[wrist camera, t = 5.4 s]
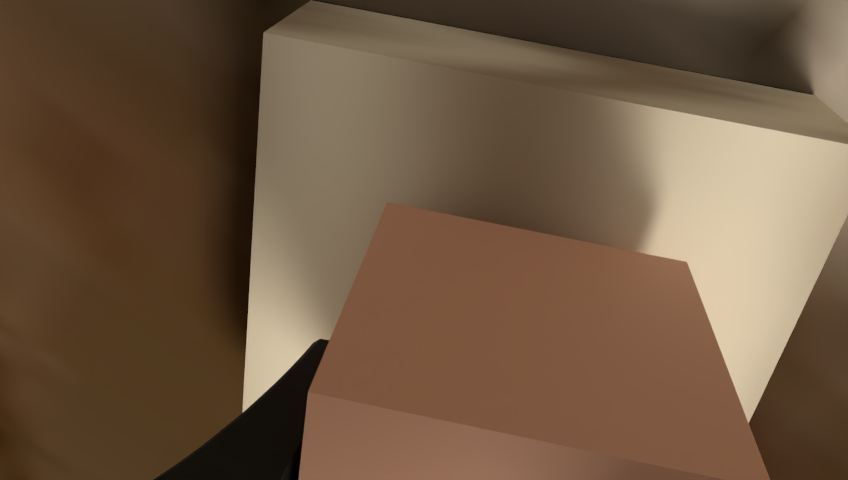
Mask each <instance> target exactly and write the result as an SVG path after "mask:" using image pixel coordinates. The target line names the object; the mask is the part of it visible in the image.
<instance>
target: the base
mask: <svg viewBox="0 0 848 480" xmlns="http://www.w3.org/2000/svg"><path fill="white" fill-rule="evenodd" d="M387 202H389V203H394V204H399V205H404V206H409V207H414V208H419V209H424V210H429V211H434V212H439V213H444V214H449V215H454V216H459V217H464V218H469V219H474V220H479V221H484V222H490V223H495V224H500V225H505V226H510V227H515V228H520V229H525V230H530V231H535V232H540V233H545V234H550V235H555V236H560V237H565V238H570V239H575V240H580V241H585V242H590V243H595V244H600V245H605V246H610V247H615V248H620V249H625V250H630V251H635V252H640V253H645V254H650V255H655V256H660V257H665V258H670V259H675V260H680V261H685V262H687V263H688V266H689V269H690V271H691V274H692V277H693V279H694V282H695V284H696V287H697V290H698V292H699V295H700V298H701V300H702V303H703V305H704V308H705V311H706V313H707V316H708V319H709V321H710V324H711V327H712V329H713V332H714V334H715V337H716V340H717V342H718V345H719V348H720V350H721V353H722V355H723V358H724V361H725V363H726V366H727V369H728V371H729V374H730V376H731V379H732V382H733V384H734V387H735V390H736V392H737V395H738V397H739V400H740V403H741V405H742V408H743V411H744V413H745V416H746V418H747V421H748V423H749V421H750V419H751V417H752V415H753V413H754V411H755V409H756V406H757V404H758V402H759V400H760V398H761V396H762V394H763V392H764V390H765V387H766V385H767V383H768V381H769V379H770V377H771V375H772V373H773V371H774V369H775V366H776V364H777V362H778V360H779V358H780V356H781V354H782V352H783V350H784V347H785V345H786V343H787V341H788V339H789V337H790V335H791V333H792V331H793V329H794V326H795V324H796V322H797V320H798V318H799V316H800V314H801V312H802V310H803V307H804V305H805V303H806V301H807V299H808V297H809V295H810V293H811V291H812V289H813V286H814V284H815V282H816V280H817V278H818V276H819V274H820V272H821V270H822V267H823V265H824V263H825V261H826V259H827V257H828V255H829V253H830V251H831V249H832V246H833V244H834V242H835V240H836V238H837V236H838V234H839V232H840V230H841V227H842V225H843V223H844V221H845V219H846V217H847V215H848V123H847V122H845V121H844V120H843V119H842V118H841V117H840V116H839V115H837V114H836V113H835V112H834V111H833V110H832V109H830V108H829V107H828V106H827V105H826V104H825V103H824V102H822V101H821V100H820V99H819V98H818V97H817V96H815V95H810V94H805V93H800V92H794V91H789V90H784V89H778V88H773V87H768V86H762V85H757V84H752V83H747V82H741V81H736V80H731V79H725V78H720V77H715V76H709V75H704V74H699V73H694V72H688V71H683V70H678V69H672V68H667V67H662V66H657V65H651V64H646V63H641V62H635V61H630V60H625V59H619V58H614V57H609V56H604V55H598V54H593V53H588V52H582V51H577V50H572V49H566V48H561V47H556V46H551V45H545V44H540V43H535V42H529V41H524V40H519V39H513V38H508V37H503V36H498V35H492V34H487V33H482V32H476V31H471V30H466V29H461V28H455V27H450V26H445V25H439V24H434V23H429V22H423V21H418V20H413V19H408V18H402V17H397V16H392V15H386V14H381V13H376V12H370V11H365V10H360V9H355V8H349V7H344V6H339V5H333V4H328V3H323V2H318V1H312V0H311V1H309V2H308V3H306V4H305V5H303V6H302V7H300V8H299V9H297V10H296V11H294V12H293V13H291V14H290V15H289V16H287V17H286V18H284V19H283V20H281V21H280V22H278V23H277V24H275V25H274V26H272V27H271V28H269V29H268V30H266V31H265V32H264V33H263V49H262V67H261V85H260V103H259V122H258V140H257V158H256V176H255V195H254V213H253V231H252V249H251V268H250V286H249V304H248V322H247V340H246V359H245V377H244V395H243V412H244V411H245V410H246V409H248V408H249V407H250V406H251V405H252V404H253V403H254V402H255V401H256V400H257V399H258V398H260V397H261V396H262V395H263V394H264V393H265V392H266V391H267V390H268V389H269V388H270V387H272V386H273V385H274V384H275V383H276V382H277V381H278V380H279V379H280V378H281V377H282V376H283V375H284V374H285V373H286V372H287V371H288V370H289V369H290V368H291V367H292V366H293V365H294V364H295V362H296V361H297V360H298V359H299V358H300V357H301V356H302V355H303V354H304V353H305V352H306V350H307V349H308V348H309V347H310V346H311V345H312V343H314V342H315V341H317V340H319V339H325V340H330V338H331V336H332V333H333V331H334V328H335V326H336V324H337V321H338V319H339V316H340V314H341V312H342V309H343V307H344V304H345V302H346V300H347V297H348V295H349V292H350V290H351V288H352V285H353V283H354V280H355V278H356V276H357V273H358V271H359V268H360V266H361V264H362V261H363V259H364V256H365V254H366V252H367V249H368V247H369V244H370V242H371V240H372V237H373V235H374V232H375V230H376V228H377V225H378V223H379V220H380V218H381V216H382V213H383V211H384V208H385V206H386V204H387Z"/></svg>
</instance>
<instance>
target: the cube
mask: <svg viewBox="0 0 848 480" xmlns="http://www.w3.org/2000/svg"><path fill="white" fill-rule="evenodd" d="M298 480H770V479H769V476H768V474H767V471H766V468H765V466H764V463H763V460H762V458H761V455H760V453H759V450H758V447H757V445H756V442H755V439H754V437H753V434H752V432H751V429H750V426H749V424H748V421H747V418H746V416H745V413H744V411H743V408H742V405H741V403H740V400H739V397H738V395H737V392H736V390H735V387H734V384H733V382H732V379H731V376H730V374H729V371H728V369H727V366H726V363H725V361H724V358H723V355H722V353H721V350H720V348H719V345H718V342H717V340H716V337H715V334H714V332H713V329H712V327H711V324H710V321H709V319H708V316H707V313H706V311H705V308H704V305H703V303H702V300H701V298H700V295H699V292H698V290H697V287H696V284H695V282H694V279H693V277H692V274H691V271H690V269H689V266H688V263H687V262H685V261H680V260H675V259H670V258H665V257H660V256H655V255H650V254H645V253H640V252H635V251H630V250H625V249H620V248H615V247H610V246H605V245H600V244H595V243H590V242H585V241H580V240H575V239H570V238H565V237H560V236H555V235H550V234H545V233H540V232H535V231H530V230H525V229H520V228H515V227H510V226H505V225H500V224H495V223H490V222H484V221H479V220H474V219H469V218H464V217H459V216H454V215H449V214H444V213H439V212H434V211H429V210H424V209H419V208H414V207H409V206H404V205H399V204H394V203H389V202H387V204H386V206H385V208H384V211H383V213H382V216H381V218H380V220H379V223H378V225H377V228H376V230H375V232H374V235H373V237H372V240H371V242H370V244H369V247H368V249H367V252H366V254H365V256H364V259H363V261H362V264H361V266H360V268H359V271H358V273H357V276H356V278H355V280H354V283H353V285H352V288H351V290H350V292H349V295H348V297H347V300H346V302H345V304H344V307H343V309H342V312H341V314H340V316H339V319H338V321H337V324H336V326H335V328H334V331H333V333H332V336H331V338H330V340H329V343H328V345H327V348H326V350H325V352H324V355H323V357H322V360H321V362H320V364H319V367H318V369H317V372H316V374H315V376H314V379H313V381H312V384H311V386H310V388H309V391H308V396H307V406H306V415H305V424H304V433H303V442H302V452H301V461H300V470H299V479H298Z"/></svg>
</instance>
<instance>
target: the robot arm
mask: <svg viewBox="0 0 848 480" xmlns="http://www.w3.org/2000/svg"><path fill="white" fill-rule="evenodd" d="M328 343H329V340H325V339H319V340H317V341H315V342H314V343H312V345H311V346H310V347H309V348H308V349H307V350H306V352H305V353H304V354H303V355H302V356H301V357H300V358H299V359H298V360H297V361H296V362H295V364H294V365H293V366H292V367H291V368H290V369H289V370H288V371H287V372H286V373H285V374H284V375H283V376H282V377H281V378H280V379H279V380H278V381H277V382H276V383H275V384H274V385H273V386H272V387H270V388H269V389H268V390H267V391H266V392H265V393H264V394H263V395H262V396H261V397H260V398H258V399H257V400H256V401H255V402H254V403H253V404H252V405H251V406H250V407H249V408H248V409H246V410H245V411H244V412H243V413H242V414H241V415H240V416H238V417H237V418H236V419H235V420H233V421H232V422H231V423H230V424H229V425H227V426H226V427H225V428H224V429H222V430H221V431H220V432H219V433H217V434H216V435H215V436H214V437H212V438H211V439H210V440H209V441H208V442H206V443H205V444H204V445H202V446H201V447H200V448H198V449H197V450H196V451H194V452H193V453H192V454H190V455H189V456H188V457H186V458H185V459H183V460H182V461H181V462H179V463H178V464H176V465H175V466H173V467H172V468H170V469H169V470H167V471H166V472H164V473H163V474H161V475H160V476H158V477H157V478H155V479H154V480H298V479H299V470H300V461H301V452H302V442H303V433H304V424H305V415H306V406H307V396H308V391H309V388H310V386H311V384H312V381H313V379H314V376H315V374H316V372H317V369H318V367H319V364H320V362H321V360H322V357H323V355H324V352H325V350H326V348H327V345H328Z"/></svg>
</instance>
